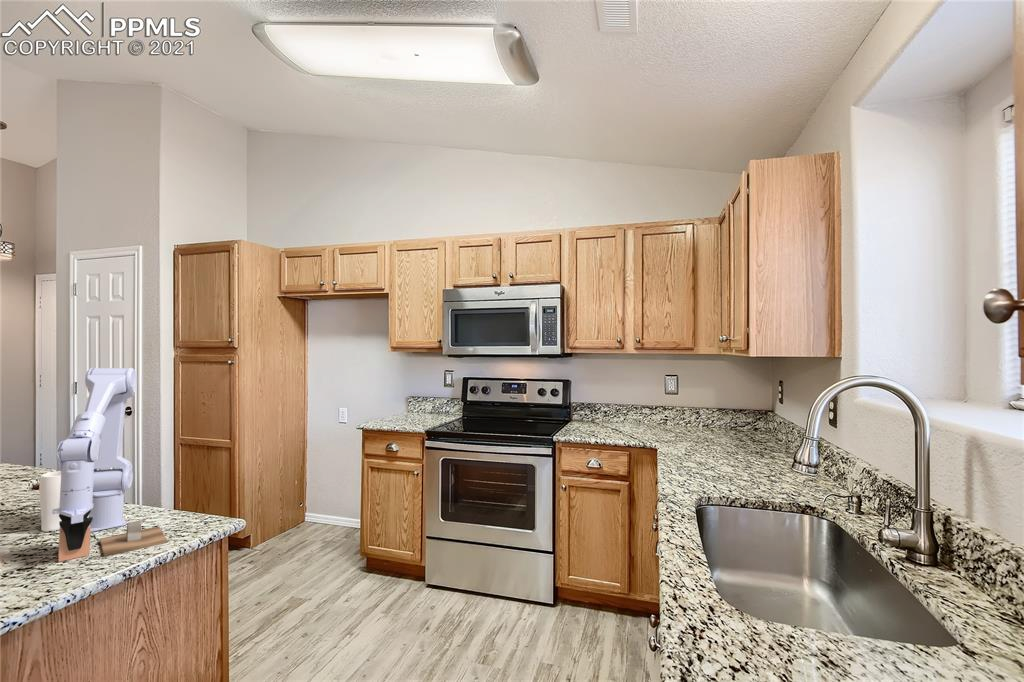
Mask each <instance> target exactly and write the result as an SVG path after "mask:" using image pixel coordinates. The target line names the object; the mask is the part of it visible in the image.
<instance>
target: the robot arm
mask: <svg viewBox="0 0 1024 682" xmlns="http://www.w3.org/2000/svg"><path fill="white" fill-rule="evenodd" d="M84 380H85V381H84V383H85V387H86V388H87V392H88V393H89V395H88V397H87V398H88V399H87V402H86V406H85V409H84V412H81V413H79V414H77V416H76V417H75V420H74V423H73V425H72V427H71V429H70V431H69V433H68V436H67V438H66V439H64V440H62V441H59V444H58V446H57V450H56V460H57V464H58V468H57V469H58V471H61V485H60V507H59V508H58V509H53V510H52V514H59V517H60V519H61V520H62V521H60V522H59V525H60V527H61V528H62V530H63V531H64V533H65V536H66V542H67V547H68V550H69V551H71V550H76V549H80V548H81V547H82V544H83V540H84V537H85V533H86V530H87V528H88V526H89V525H90V526H91V531H90V533H92V532H96V531H97V532H98V531H102V530H106V529H107V530H108V529H112V528H117V527H118V528H119V527H125V526H127V521H126V520H125V517H124V507H125V506H124V505H125V491H128V490H129V489H130V488H131V487H132V484H133V479H134V473H133V463H132V462H131V461H130V460H128V459H126V458H124V457H123V456H122V455H121V454H122V448H123V447H122V446H123V435H124V426H125V425H124V424H125V415H126V406H127V401H128V399H130V398H132V397H134V396H135V394H136V388H137V372H136V370H135V369H134V368H133V367H129V368H127V367H122V368H120V367H119V368H118V367H113V368H112V367H108V368H107V367H90V368H89V369H88V370H87V371H86V374H85V378H84Z"/></svg>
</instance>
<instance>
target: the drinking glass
mask: <svg viewBox="0 0 1024 682" xmlns="http://www.w3.org/2000/svg"><path fill="white" fill-rule="evenodd" d="M60 485H61V471H59V470H57V471H50V472H45V473H43V474H40V477H39V485H38V487H39V488H38V489H39V494H38V495H39V509H40V510H39V511H40V520H41V521H40V525H41V526H40V530H41V531H42V532H46V533H48V532H49V531H52V532H56V530H57V531H59V530H60V525H59V522H60V521H62V520H61V519H60V517H59V514H52V510H53V509H58V508H59V507H60ZM49 533H50V532H49Z"/></svg>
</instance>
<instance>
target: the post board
mask: <svg viewBox="0 0 1024 682" xmlns="http://www.w3.org/2000/svg"><path fill="white" fill-rule="evenodd" d="M99 542H100V548H101V550H102V554H103V558H104V557H109V556H114V555H117V554H118V555H119V554H122V553H127V552H131V551H136V550H140V549H145V548H150V547H153V546H157V545H163V544H165V543H167V542H168V538H167V537H166V535H165V533H164V532H163V530H162V529H161V527H160V526H155V527H149V528H144V529H142V521H141V520H136V521H130V522H126V533H120V534H114V535H110V536H106V537H100V538H99ZM167 544H168V543H167Z"/></svg>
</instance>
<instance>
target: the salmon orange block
mask: <svg viewBox="0 0 1024 682" xmlns="http://www.w3.org/2000/svg"><path fill="white" fill-rule="evenodd" d="M58 531H59V536H58V550H57V551H58V552H57V553H58V555H57V556H58V563H59V562H60V563H61V562H63V561H69V560H73V559H77V558H81V557H86V556H90V554H91V553H90V551H91V550H90V548H91V532H90V531H91V526H90V525H89V526H88V528H87V530H86V533H85V537H84V540H83V544H82V547H81V548H80V549H76V550H71V551H69V550H68V547H67V542H66V536H65V533H64V531H63V530H62V528H61V527H60V530H58Z"/></svg>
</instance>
